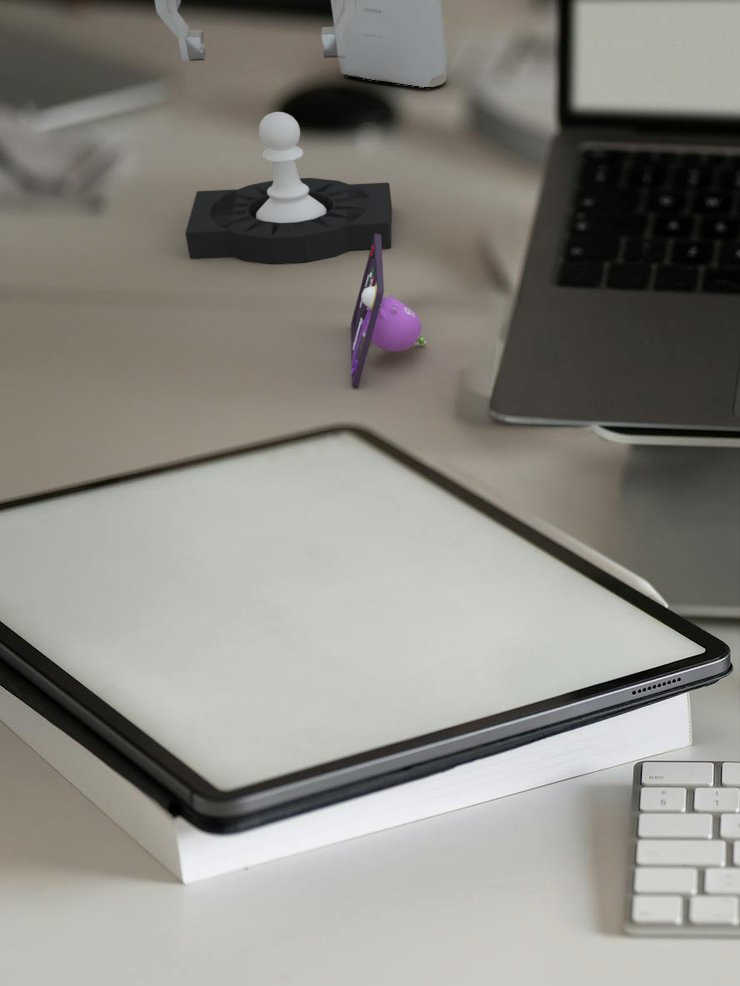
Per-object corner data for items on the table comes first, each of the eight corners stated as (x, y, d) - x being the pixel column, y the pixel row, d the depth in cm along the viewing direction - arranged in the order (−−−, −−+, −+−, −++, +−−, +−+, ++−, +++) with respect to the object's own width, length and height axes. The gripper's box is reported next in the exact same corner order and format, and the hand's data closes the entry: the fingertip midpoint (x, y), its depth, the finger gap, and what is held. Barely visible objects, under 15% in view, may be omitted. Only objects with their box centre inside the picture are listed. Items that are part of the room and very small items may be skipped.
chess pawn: (343, 231, 125) (327, 113, 121) (286, 251, 122) (268, 130, 117) (301, 213, 128) (285, 97, 123) (244, 232, 125) (225, 113, 120)
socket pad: (187, 268, 119) (182, 242, 118) (203, 207, 129) (198, 182, 128) (391, 257, 122) (388, 231, 121) (392, 198, 131) (389, 173, 130)
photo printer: (332, 78, 155) (315, -62, 148) (359, 65, 158) (343, -72, 152) (430, 94, 152) (417, -48, 145) (455, 80, 155) (443, -59, 149)
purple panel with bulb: (363, 229, 109) (365, 287, 102) (443, 249, 111) (451, 307, 104) (339, 321, 112) (339, 384, 105) (417, 339, 114) (423, 402, 107)
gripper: (59, -144, 106) (100, 75, 114) (394, -145, 110) (413, 67, 117) (75, -163, 111) (114, 47, 119) (395, -163, 115) (412, 41, 122)
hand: (265, 57), depth 118 cm, fingers open, 8 cm apart
